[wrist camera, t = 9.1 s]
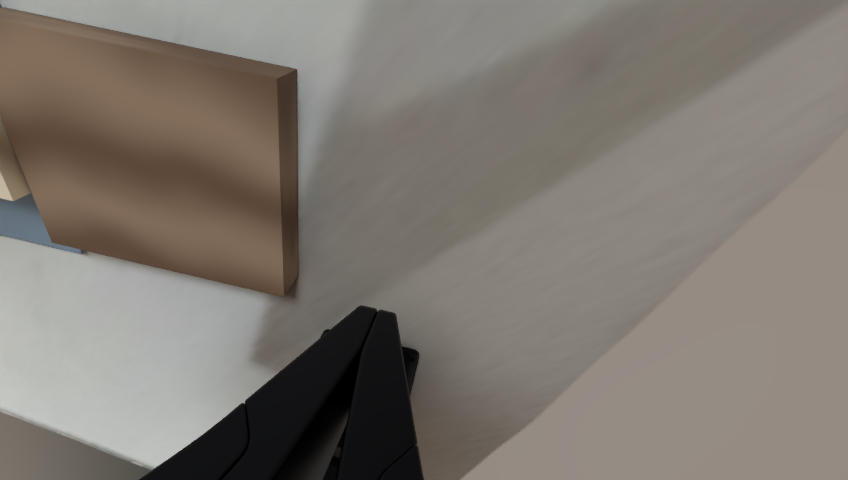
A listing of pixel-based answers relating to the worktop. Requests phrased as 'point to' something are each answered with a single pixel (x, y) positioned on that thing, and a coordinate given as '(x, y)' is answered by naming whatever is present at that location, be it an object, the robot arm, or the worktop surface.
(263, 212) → the walnut board
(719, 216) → the worktop surface
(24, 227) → the rubber mat
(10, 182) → the beech tile
